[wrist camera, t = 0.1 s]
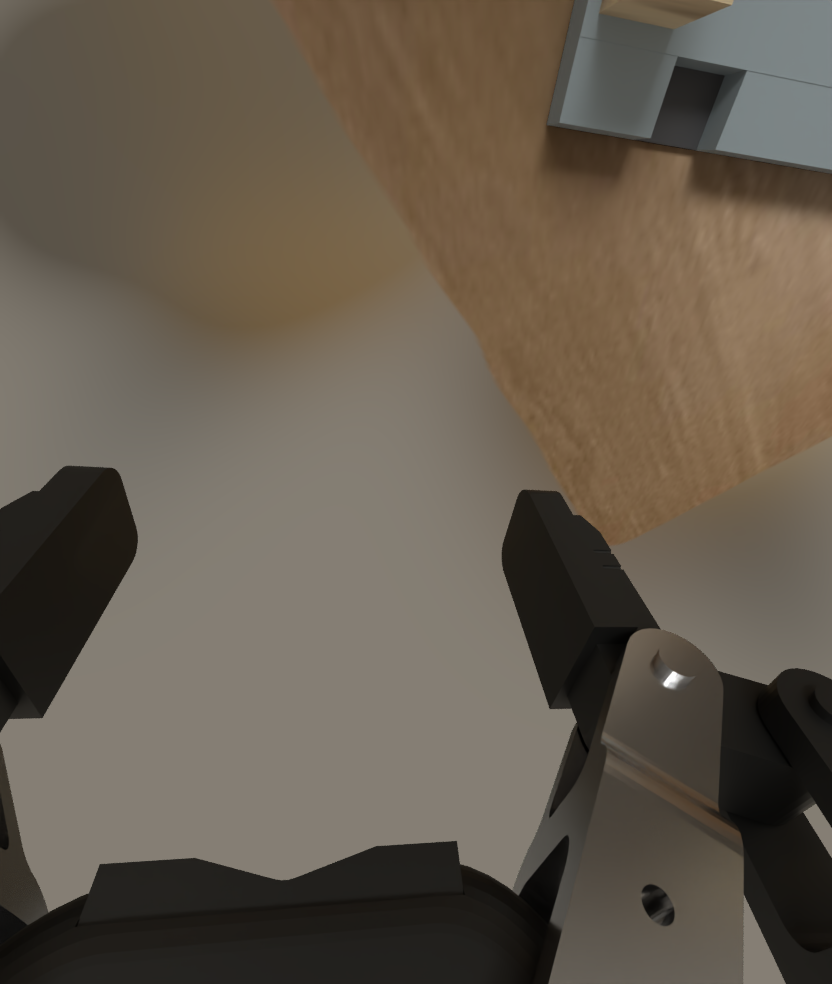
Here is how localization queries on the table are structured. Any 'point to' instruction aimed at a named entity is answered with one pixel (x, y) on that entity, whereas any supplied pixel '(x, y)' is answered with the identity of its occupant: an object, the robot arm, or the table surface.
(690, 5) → the beech block
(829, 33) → the plate
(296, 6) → the table surface
